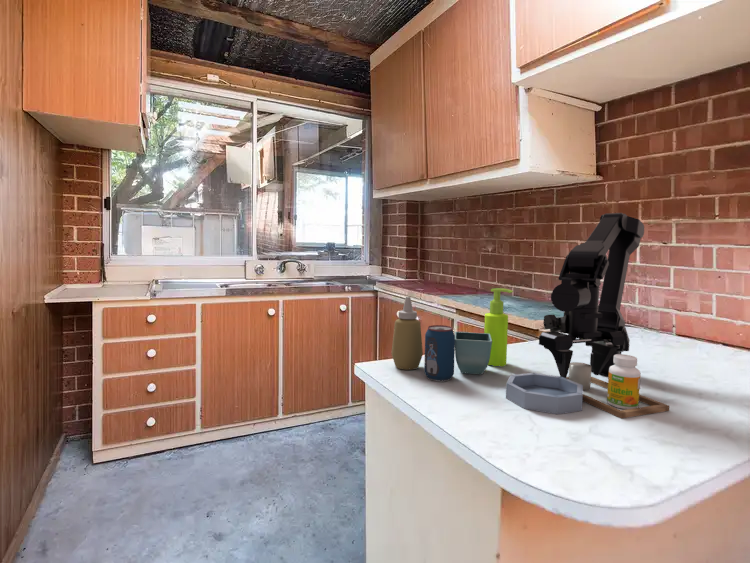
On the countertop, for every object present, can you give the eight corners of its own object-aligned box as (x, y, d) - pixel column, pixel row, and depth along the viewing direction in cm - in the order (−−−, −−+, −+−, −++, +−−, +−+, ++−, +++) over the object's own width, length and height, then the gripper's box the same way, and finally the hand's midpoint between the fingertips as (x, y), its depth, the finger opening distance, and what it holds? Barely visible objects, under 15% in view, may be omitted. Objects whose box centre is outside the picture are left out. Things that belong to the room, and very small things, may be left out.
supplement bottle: (605, 406, 82) (608, 357, 81) (608, 397, 87) (611, 351, 86) (637, 412, 79) (641, 362, 78) (639, 403, 84) (642, 355, 83)
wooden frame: (586, 378, 99) (586, 374, 99) (669, 410, 80) (669, 405, 80) (544, 383, 95) (544, 379, 95) (621, 418, 76) (621, 413, 76)
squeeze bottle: (389, 362, 111) (390, 295, 109) (419, 362, 112) (420, 295, 110) (393, 372, 103) (394, 299, 101) (425, 371, 104) (427, 299, 102)
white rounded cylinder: (579, 383, 96) (580, 361, 96) (594, 389, 92) (596, 366, 92) (563, 384, 95) (564, 363, 94) (579, 391, 91) (580, 368, 90)
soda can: (453, 373, 102) (454, 325, 101) (454, 383, 95) (455, 331, 94) (424, 372, 103) (425, 324, 102) (423, 381, 96) (424, 329, 95)
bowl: (547, 385, 94) (548, 371, 94) (598, 408, 81) (599, 392, 81) (494, 391, 90) (494, 376, 90) (538, 416, 77) (539, 399, 76)
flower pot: (491, 378, 99) (492, 340, 98) (453, 375, 101) (454, 338, 100) (488, 367, 108) (489, 333, 107) (453, 365, 109) (454, 331, 108)
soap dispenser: (506, 368, 107) (509, 290, 105) (480, 364, 110) (482, 288, 109) (512, 363, 112) (515, 288, 110) (487, 359, 115) (489, 286, 114)
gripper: (587, 300, 102) (584, 363, 104) (523, 303, 97) (521, 369, 98) (628, 307, 92) (624, 377, 93) (559, 311, 86) (555, 385, 87)
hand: (579, 376), depth 93 cm, fingers open, 9 cm apart
